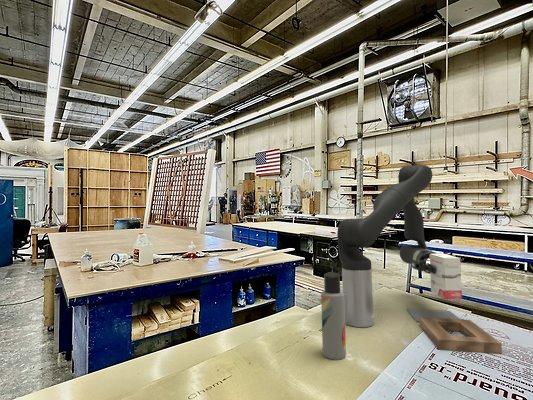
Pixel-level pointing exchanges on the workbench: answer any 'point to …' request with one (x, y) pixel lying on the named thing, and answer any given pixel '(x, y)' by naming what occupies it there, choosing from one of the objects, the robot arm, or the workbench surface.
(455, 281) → the ink box
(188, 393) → the workbench surface
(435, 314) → the grey mat
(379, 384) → the workbench surface
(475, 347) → the wooden square frame
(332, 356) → the lotion bottle
